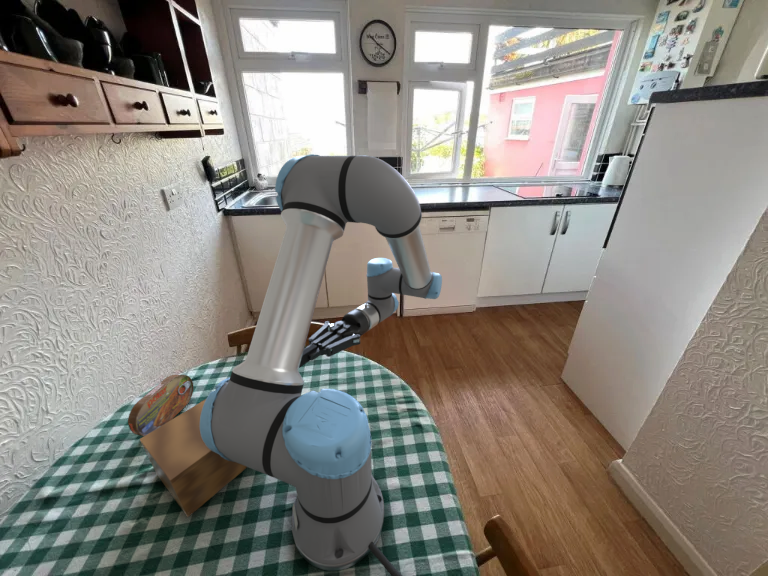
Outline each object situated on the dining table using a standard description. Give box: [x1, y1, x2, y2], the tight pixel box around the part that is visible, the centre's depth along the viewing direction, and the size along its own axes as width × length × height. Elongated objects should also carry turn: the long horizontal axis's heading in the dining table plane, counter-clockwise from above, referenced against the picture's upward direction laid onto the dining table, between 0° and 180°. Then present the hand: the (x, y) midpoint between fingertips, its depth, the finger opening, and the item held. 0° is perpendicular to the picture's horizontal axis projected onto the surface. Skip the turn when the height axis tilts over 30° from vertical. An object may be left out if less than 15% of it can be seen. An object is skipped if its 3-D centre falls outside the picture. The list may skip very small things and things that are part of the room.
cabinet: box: [139, 398, 248, 518], centre depth 60 cm, size 15×13×10 cm
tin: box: [127, 374, 194, 437], centre depth 71 cm, size 15×3×8 cm, turn 168°
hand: (295, 363), depth 73 cm, fingers closed
